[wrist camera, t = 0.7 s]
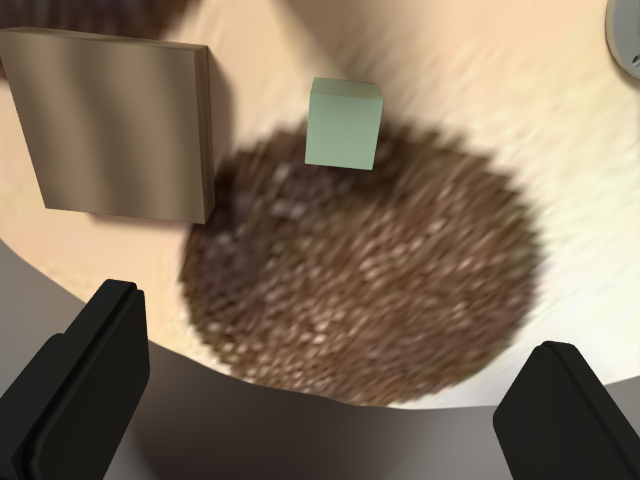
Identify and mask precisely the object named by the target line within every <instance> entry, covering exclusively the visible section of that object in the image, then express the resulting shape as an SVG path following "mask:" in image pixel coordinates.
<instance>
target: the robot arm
mask: <svg viewBox="0 0 640 480" xmlns="http://www.w3.org/2000/svg"><path fill="white" fill-rule="evenodd" d="M606 32H607V40H608V43H609V46H610V50H611V53H612V55H613V56H614V58H615V59H616V61H617V63H618V64H619V66H621V67H622V68H623V69H624V70H625V71H626V72H627V73H628V74H629V75H631V76H633V77H636V78H638V79H640V0H609V1H608V5H607V15H606ZM633 59H634V60H633ZM149 374H150V362H149V349H148V336H147V322H146V309H145V296H144V292H143V290H138V289H137V285H136V284H135V283H134V282H127V281H120V280H113V279H107V280H106V281H105V282H104V283H103V284H102V285H101V286H100V288H99V289H98V290H97V291H96V293H95V294H94V295H93V297H92V298H91V299H90V300H89V302H88V303H87V304H86V306H85V307H84V308H83V309H82V311H81V312H80V313H79V315H78V316H77V317H76V319H75V320H74V321H73V322H72V324H71V325H70V326H69V327H68V329H67V330H66V331H65V333H64V334H62V333H57V334H55V335H53V336H52V337H51V338H49V339H48V340H47V341H46V343H45V344H44V345H43V346H42V347H41V349H40V350H39V351H38V352H37V354H36V355H35V356H34V357H33V358H32V360H31V361H30V362H29V363H28V365H27V366H26V367H25V368H24V370H23V371H22V372H21V374H20V375H19V376H18V377H17V378H16V380H15V381H14V382H13V383H12V384H11V386H10V387H9V388H8V390H7V391H6V392H5V393H4V394H3V396H2V397H1V398H0V480H103V478H104V476H105V474H106V472H107V470H108V468H109V465H110V463H111V461H112V459H113V457H114V454H115V452H116V450H117V448H118V446H119V444H120V442H121V439H122V437H123V435H124V433H125V431H126V429H127V427H128V424H129V422H130V420H131V418H132V416H133V414H134V411H135V409H136V407H137V405H138V403H139V401H140V398H141V396H142V394H143V392H144V390H145V387H146V385H147V383H148V380H149ZM493 427H494V430H495V433H496V435H497V438H498V441H499V443H500V446H501V449H502V451H503V454H504V456H505V459H506V462H507V464H508V467H509V470H510V472H511V475H512V477H513V480H640V438H639V436H638V435H637V434H636V432H635V430H634V429H633V428H632V426H631V425H630V423H629V422H628V421H627V419H626V418H625V416H624V415H623V413H622V412H621V410H620V409H619V408H618V406H617V405H616V403H615V402H614V400H613V399H612V398H611V396H610V395H609V394H608V392H607V391H606V389H605V388H604V386H603V385H602V383H601V382H600V380H599V379H598V378H597V376H596V375H595V373H594V372H593V370H592V369H591V368H590V366H589V365H588V363H587V362H586V360H585V359H584V358H583V356H582V355H581V353H580V352H579V350H578V349H577V348H576V347H575V346H574V345H572V344H569V343H562V342H555V341H545V342H543V343H542V344H541V345H540V346H536V347H535V348H534V350H533V351H532V353H531V355H530V356H529V358H528V359H527V361H526V363H525V364H524V366H523V367H522V369H521V371H520V372H519V374H518V375H517V377H516V379H515V380H514V382H513V383H512V385H511V387H510V388H509V390H508V391H507V393H506V395H505V396H504V398H503V399H502V401H501V403H500V404H499V406H498V407H497V409H496V411H495V412H494V415H493Z"/></svg>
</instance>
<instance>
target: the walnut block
mask: <svg viewBox="0 0 640 480" xmlns="http://www.w3.org/2000/svg"><path fill="white" fill-rule="evenodd" d="M0 56H1V59H2V63H3V66H4V69H5V73H6V76H7V80H8V83H9V86H10V90H11V93H12V96H13V100H14V103H15V107H16V110H17V113H18V117H19V120H20V123H21V127H22V130H23V134H24V137H25V140H26V144H27V147H28V150H29V154H30V157H31V160H32V164H33V167H34V171H35V174H36V177H37V181H38V184H39V187H40V191H41V194H42V198H43V201H44V204H45V208H48V209H58V210H68V211H78V212H88V213H98V214H109V215H119V216H129V217H139V218H149V219H159V220H169V221H179V222H189V223H199V224H205V223H206V221H207V219H208V218H209V216H210V214H211V212H212V211H213V209H214V207H215V190H214V169H213V149H212V128H211V108H210V87H209V67H208V46H206V45H196V44H187V43H178V42H168V41H159V40H149V39H140V38H131V37H121V36H112V35H102V34H93V33H84V32H74V31H65V30H55V29H46V28H36V27H27V26H25V27H17V28H8V29H0Z"/></svg>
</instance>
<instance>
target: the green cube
mask: <svg viewBox="0 0 640 480" xmlns="http://www.w3.org/2000/svg"><path fill="white" fill-rule="evenodd" d="M383 102H384V100H383V98H382V96H381V93H380V91H379V89H378V86H377V84H373V83H364V82H354V81H344V80H335V79H325V78H316V77H314V81H313V85H312V89H311V93H310V104H309V117H308V131H307V144H306V157H305V163H307V164H317V165H327V166H337V167H347V168H357V169H367V170H372V167H373V161H374V155H375V149H376V144H377V138H378V132H379V126H380V120H381V114H382V108H383Z"/></svg>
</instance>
